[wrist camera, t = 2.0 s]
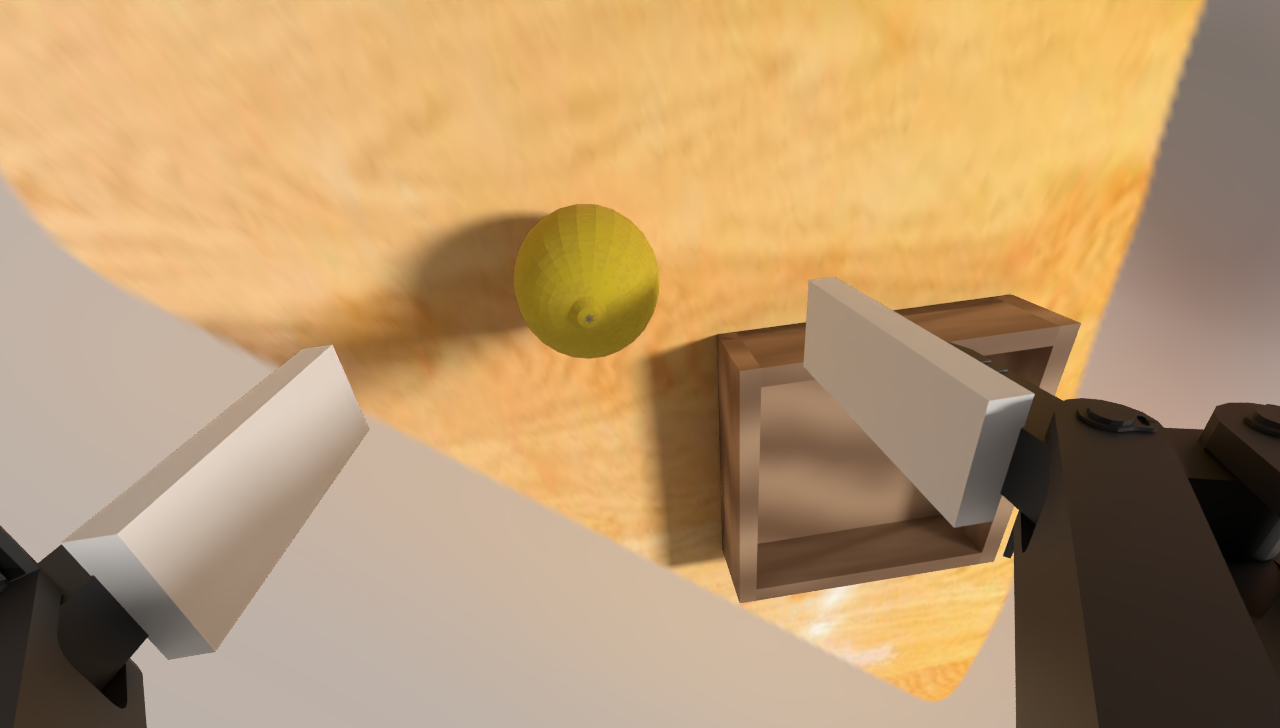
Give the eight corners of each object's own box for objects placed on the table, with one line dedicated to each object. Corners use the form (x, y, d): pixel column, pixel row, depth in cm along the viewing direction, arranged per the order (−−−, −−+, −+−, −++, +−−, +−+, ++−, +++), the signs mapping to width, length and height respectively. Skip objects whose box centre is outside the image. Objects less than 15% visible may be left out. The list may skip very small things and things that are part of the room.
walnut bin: (716, 334, 25) (739, 371, 21) (1011, 294, 25) (1081, 323, 22) (722, 549, 32) (739, 603, 29) (949, 513, 33) (993, 561, 29)
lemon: (581, 331, 24) (580, 422, 17) (499, 245, 21) (458, 308, 14) (669, 261, 23) (709, 328, 15) (593, 162, 20) (599, 187, 13)
